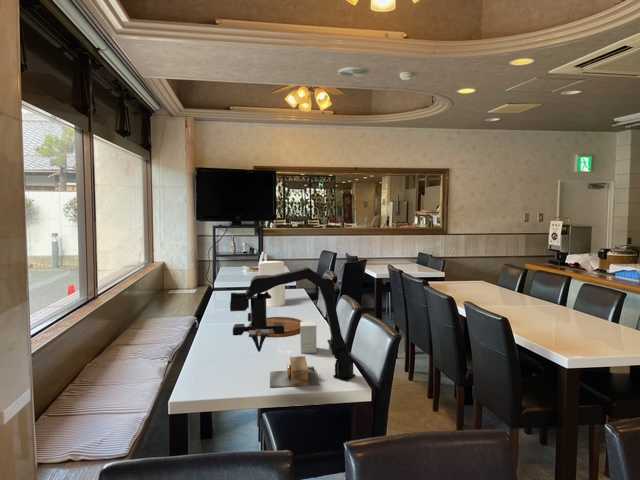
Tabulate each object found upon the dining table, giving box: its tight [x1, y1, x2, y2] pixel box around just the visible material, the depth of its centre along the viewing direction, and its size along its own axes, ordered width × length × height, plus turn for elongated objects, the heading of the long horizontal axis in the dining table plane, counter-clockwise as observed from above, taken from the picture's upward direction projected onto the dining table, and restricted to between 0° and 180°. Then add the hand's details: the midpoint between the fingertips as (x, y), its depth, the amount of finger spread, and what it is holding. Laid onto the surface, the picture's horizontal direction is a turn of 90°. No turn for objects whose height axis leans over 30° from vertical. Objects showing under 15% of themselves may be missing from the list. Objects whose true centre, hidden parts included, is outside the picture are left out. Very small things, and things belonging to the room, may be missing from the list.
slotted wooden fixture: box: [269, 355, 320, 389], centre depth 161 cm, size 18×14×6 cm
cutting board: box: [247, 316, 304, 338], centre depth 227 cm, size 32×32×2 cm
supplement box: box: [299, 321, 318, 354], centre depth 192 cm, size 7×7×13 cm
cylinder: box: [258, 260, 286, 308], centre depth 281 cm, size 17×17×28 cm
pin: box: [286, 364, 315, 378], centre depth 161 cm, size 10×5×5 cm, turn 97°
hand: (259, 351), depth 157 cm, fingers closed
